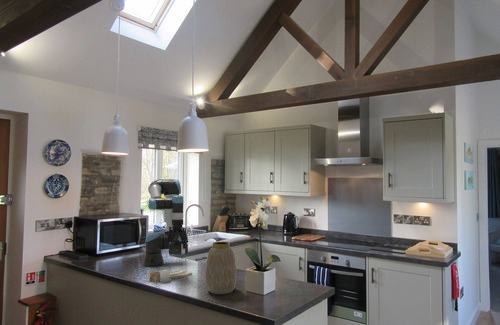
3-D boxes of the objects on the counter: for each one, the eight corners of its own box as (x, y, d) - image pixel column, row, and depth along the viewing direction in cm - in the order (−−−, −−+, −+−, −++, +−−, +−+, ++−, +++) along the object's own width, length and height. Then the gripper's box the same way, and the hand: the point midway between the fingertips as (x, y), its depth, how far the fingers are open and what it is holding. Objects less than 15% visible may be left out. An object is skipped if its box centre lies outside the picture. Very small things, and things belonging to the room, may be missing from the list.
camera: (181, 251, 248) (181, 237, 249) (190, 253, 241) (190, 238, 242) (164, 254, 239) (164, 239, 239) (172, 256, 232) (172, 241, 232)
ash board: (162, 276, 237) (162, 274, 237) (179, 271, 249) (179, 270, 249) (175, 279, 230) (175, 277, 230) (191, 274, 242) (191, 272, 242)
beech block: (149, 281, 227) (149, 273, 227) (154, 279, 232) (154, 271, 232) (156, 282, 225) (156, 273, 225) (160, 279, 230) (160, 271, 230)
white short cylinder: (157, 281, 225) (157, 270, 225) (165, 279, 230) (165, 268, 231) (165, 283, 222) (165, 272, 222) (172, 280, 227) (172, 269, 227)
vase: (211, 297, 195) (211, 246, 196) (202, 288, 211) (202, 241, 212) (240, 293, 202) (240, 244, 203) (230, 285, 218) (230, 239, 219)
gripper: (161, 218, 245) (161, 251, 244) (185, 220, 232) (185, 255, 231) (170, 217, 251) (169, 250, 250) (194, 219, 238) (193, 253, 237)
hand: (177, 252), depth 240 cm, fingers closed on camera, 10 cm apart
